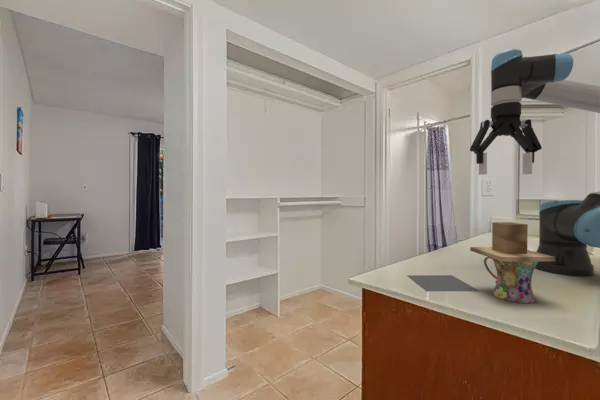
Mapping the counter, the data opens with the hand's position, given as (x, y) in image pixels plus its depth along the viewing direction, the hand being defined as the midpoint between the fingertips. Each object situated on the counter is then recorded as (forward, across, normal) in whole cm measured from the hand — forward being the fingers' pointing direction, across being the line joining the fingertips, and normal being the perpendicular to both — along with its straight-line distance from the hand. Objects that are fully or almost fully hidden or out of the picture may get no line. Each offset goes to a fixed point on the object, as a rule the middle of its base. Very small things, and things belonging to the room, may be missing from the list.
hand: (504, 174), depth 87 cm
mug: (+32, +11, +17) cm, 38 cm away
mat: (+32, +23, +7) cm, 40 cm away
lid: (+21, +11, +17) cm, 29 cm away
